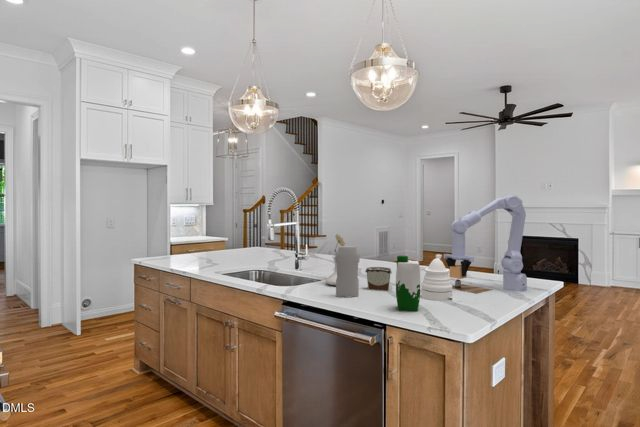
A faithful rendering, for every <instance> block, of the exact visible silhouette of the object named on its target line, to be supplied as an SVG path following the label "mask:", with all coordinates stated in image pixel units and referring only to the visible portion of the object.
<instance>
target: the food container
mask: <svg viewBox="0 0 640 427" xmlns="http://www.w3.org/2000/svg"><path fill="white" fill-rule="evenodd" d="M364 273H366V280H367V290H370V291H381V292H389V290H390V281H391V275H392V273H393V271H392V269H391V267H390V268H389V267H384V266H370V267H366V268H365V272H364Z"/></svg>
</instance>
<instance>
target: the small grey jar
mask: <svg viewBox="0 0 640 427" xmlns="http://www.w3.org/2000/svg"><path fill="white" fill-rule="evenodd" d="M454 282H455V283H454V286H455V288H461V284H462V281H461V279H457V278H456V280H455V281H454Z"/></svg>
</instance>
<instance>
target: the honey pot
mask: <svg viewBox="0 0 640 427" xmlns="http://www.w3.org/2000/svg"><path fill="white" fill-rule="evenodd" d="M442 256H443V255H442V254H435V258H434V259H432V261H431V262H429V263H430V264H429V265H428V266H427V267H426V268H425V269H424V271H425V274H424V276H423V279H422V282H421V286H420V298H422V299H425V300H430V301H437V300H440V302H442V301H444V300H445V301H452V299H453V298H452V297H453V289H452V286H453V284H452V281H451V277H450V274H449V273H450V270H449V268H446V266H445V264H444V262H443V261H442Z"/></svg>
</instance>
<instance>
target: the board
mask: <svg viewBox="0 0 640 427" xmlns="http://www.w3.org/2000/svg"><path fill="white" fill-rule="evenodd" d="M452 290H455V291H460V292H464V293H465V292H466V293H470V294H475V295H477V294H482V293H487V292H489V291H493V290H494V289H492V288H487V287H481V286H477V285H476V286H475V285H472V284H471V285H469V284H464V283H461V288H455V285H452Z"/></svg>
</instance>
